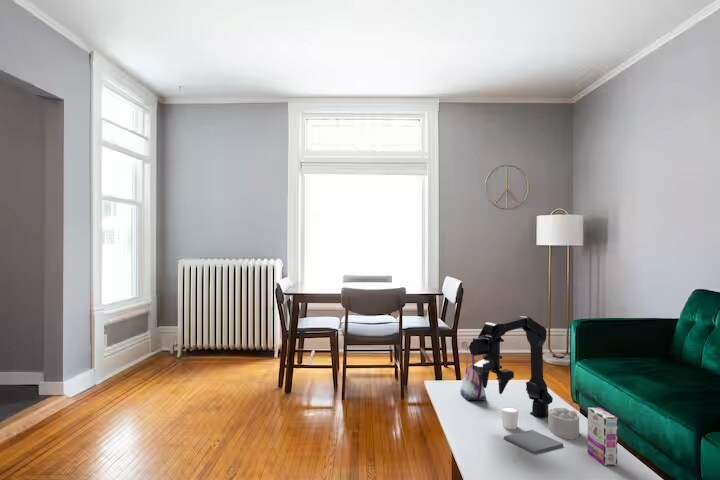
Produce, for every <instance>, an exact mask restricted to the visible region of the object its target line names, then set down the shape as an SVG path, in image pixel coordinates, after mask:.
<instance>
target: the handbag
mask: <svg viewBox="0 0 720 480" xmlns="http://www.w3.org/2000/svg"><path fill="white" fill-rule="evenodd" d="M468 350H469V347H467V349H466V353H467V354H466V357H467V358H466V368H465V370H464V373H463V376H462V381H461V386H460V391H459V392H460V395H461V396H462V397H463V398H464V399H465V400H466V401H473V400H479V401H482V400H483V401H486V400H487V395H486V391H485V388H484V387H483V384H482V381H481V378H480V375H479V374H478V373H477V372H475V370H474V369H473V364H474V362H476V361H475V356H474V355H472V354H471V353H470V355H471V359H472V360H471V361H472V362H471V363H472V364H469V365H468V363H469V362H468V360H469V359H468V355H469V354H468ZM478 361H480V357H479V358H478Z"/></svg>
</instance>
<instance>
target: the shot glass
mask: <svg viewBox="0 0 720 480" xmlns="http://www.w3.org/2000/svg"><path fill="white" fill-rule="evenodd" d="M500 409H501V422H502V427H503V428H504V429H508V430H516V429H517V428H518V421H519V412H520V410H519V409H518V408H516V407H511V406H510V407H509V406H504V407H501V408H500Z"/></svg>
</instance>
